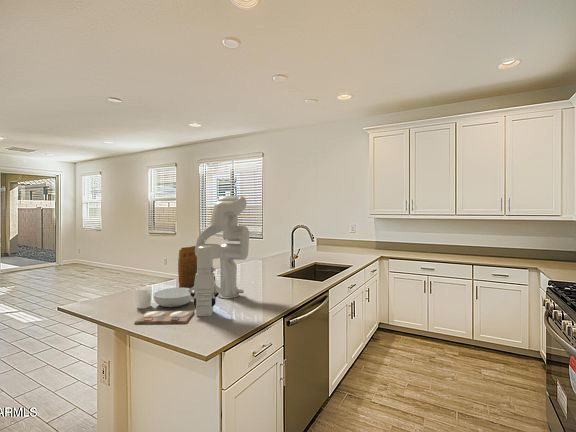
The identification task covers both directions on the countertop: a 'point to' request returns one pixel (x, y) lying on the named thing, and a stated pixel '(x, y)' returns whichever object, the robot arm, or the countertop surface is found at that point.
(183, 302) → the serving bowl
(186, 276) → the pancake mix bag
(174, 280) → the countertop surface
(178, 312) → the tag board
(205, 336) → the countertop surface
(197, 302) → the supplement box
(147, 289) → the white cup
